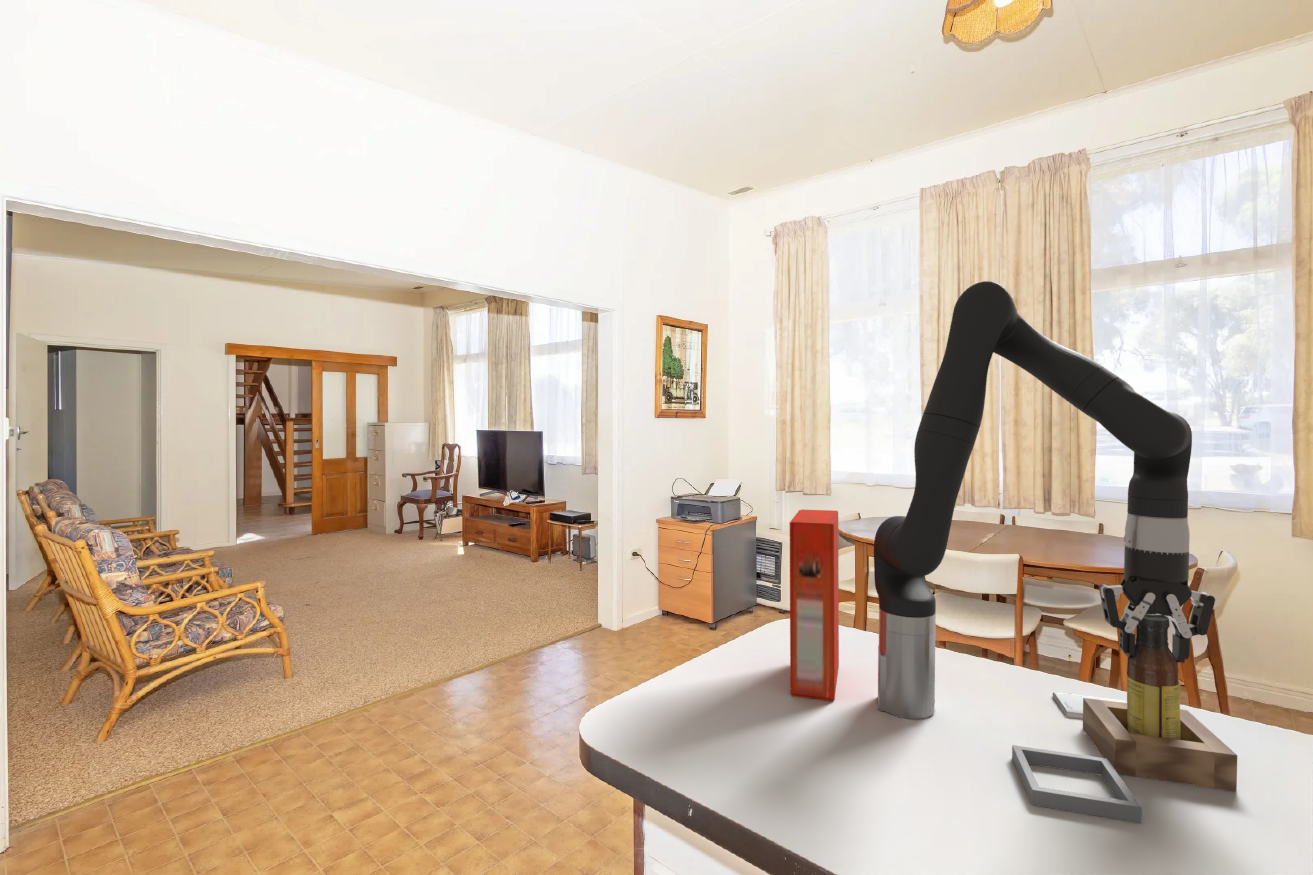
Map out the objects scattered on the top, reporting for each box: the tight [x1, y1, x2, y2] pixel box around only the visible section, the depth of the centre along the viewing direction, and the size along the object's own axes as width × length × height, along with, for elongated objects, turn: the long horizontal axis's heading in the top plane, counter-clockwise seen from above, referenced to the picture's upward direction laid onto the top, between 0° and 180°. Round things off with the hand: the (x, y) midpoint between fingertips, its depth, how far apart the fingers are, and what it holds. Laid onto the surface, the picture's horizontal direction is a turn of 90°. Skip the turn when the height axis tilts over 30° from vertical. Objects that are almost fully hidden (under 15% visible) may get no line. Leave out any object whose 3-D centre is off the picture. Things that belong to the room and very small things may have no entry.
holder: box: [1082, 698, 1238, 793], centre depth 94 cm, size 14×14×5 cm
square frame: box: [1011, 744, 1143, 824], centre depth 86 cm, size 12×12×2 cm
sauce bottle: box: [1126, 614, 1181, 740], centre depth 94 cm, size 6×6×20 cm
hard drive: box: [1052, 691, 1127, 720], centre depth 109 cm, size 2×8×12 cm
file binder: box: [789, 509, 840, 702], centre depth 122 cm, size 8×17×32 cm, turn 161°
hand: (1153, 657), depth 94 cm, fingers closed on sauce bottle, 5 cm apart
